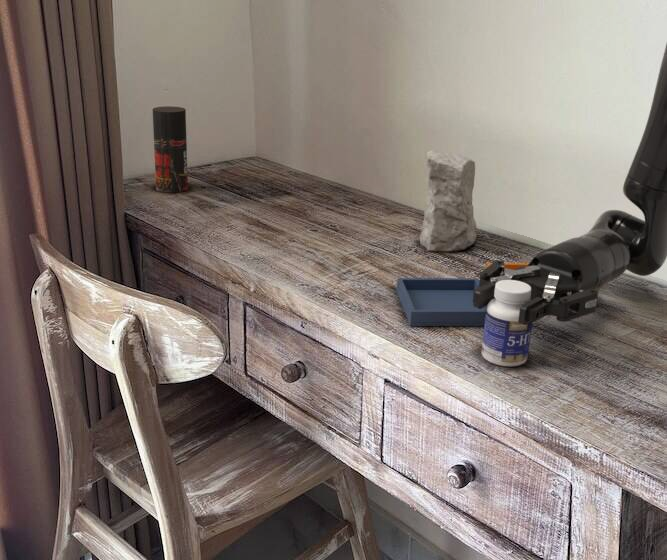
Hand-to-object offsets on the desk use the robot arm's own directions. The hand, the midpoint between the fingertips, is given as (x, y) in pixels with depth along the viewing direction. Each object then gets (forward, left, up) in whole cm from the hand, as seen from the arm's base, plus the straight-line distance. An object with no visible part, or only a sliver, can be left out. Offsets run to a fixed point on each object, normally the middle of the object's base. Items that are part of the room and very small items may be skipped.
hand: (499, 307), depth 90 cm
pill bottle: (+2, -2, -7) cm, 8 cm away
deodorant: (+72, +43, -7) cm, 84 cm away
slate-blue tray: (+16, +2, -7) cm, 17 cm away
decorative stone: (+42, -4, -7) cm, 43 cm away
